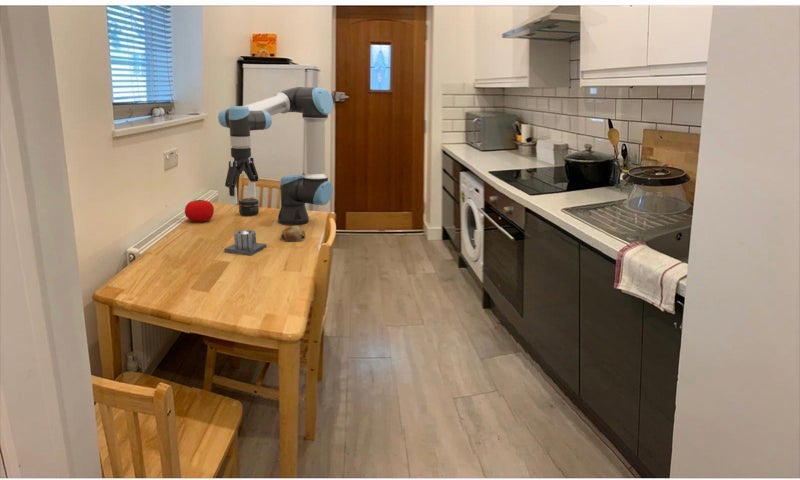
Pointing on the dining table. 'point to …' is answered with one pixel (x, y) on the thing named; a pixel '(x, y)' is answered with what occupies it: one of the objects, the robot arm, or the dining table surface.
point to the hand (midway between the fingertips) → (243, 200)
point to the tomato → (199, 210)
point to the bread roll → (293, 234)
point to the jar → (248, 207)
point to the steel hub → (245, 239)
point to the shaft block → (245, 251)
